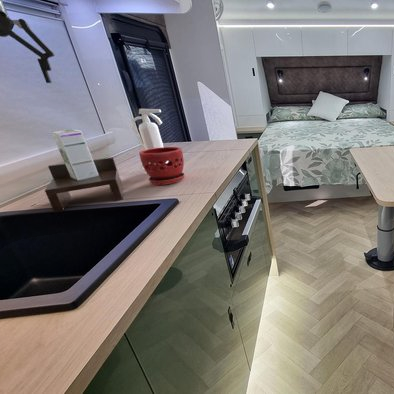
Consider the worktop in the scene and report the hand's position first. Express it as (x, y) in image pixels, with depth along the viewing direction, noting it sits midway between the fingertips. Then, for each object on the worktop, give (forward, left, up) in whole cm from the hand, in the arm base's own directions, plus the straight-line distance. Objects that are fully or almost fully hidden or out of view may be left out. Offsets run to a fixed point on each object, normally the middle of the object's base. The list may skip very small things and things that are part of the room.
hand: (16, 83), depth 83 cm
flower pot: (+30, -5, -35) cm, 46 cm away
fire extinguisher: (+28, +12, -35) cm, 46 cm away
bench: (+8, -10, -35) cm, 37 cm away
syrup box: (+8, -8, -28) cm, 30 cm away
